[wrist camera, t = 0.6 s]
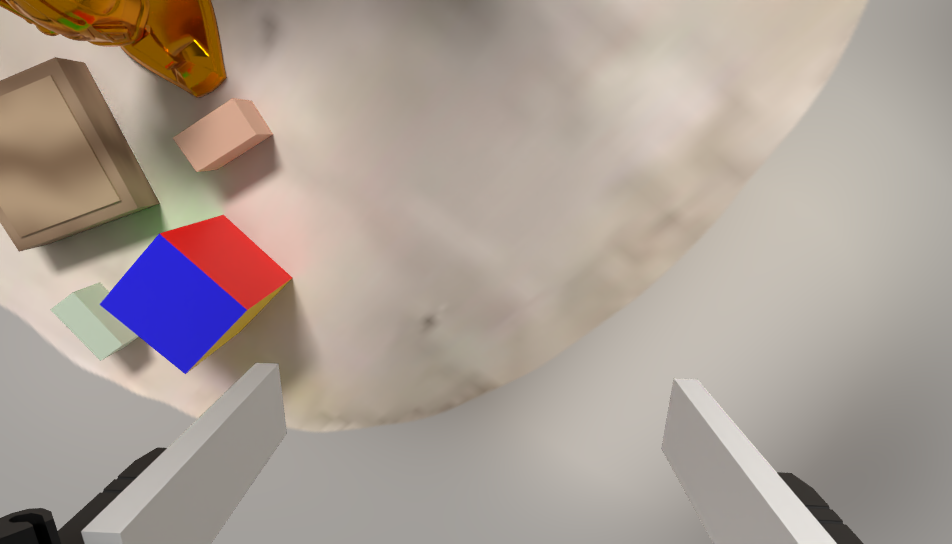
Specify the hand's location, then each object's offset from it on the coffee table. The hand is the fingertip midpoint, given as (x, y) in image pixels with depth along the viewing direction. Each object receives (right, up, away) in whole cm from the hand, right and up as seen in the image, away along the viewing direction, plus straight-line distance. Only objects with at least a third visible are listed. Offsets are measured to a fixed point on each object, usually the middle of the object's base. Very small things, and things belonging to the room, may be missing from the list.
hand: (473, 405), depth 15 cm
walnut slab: (-35, +14, +23) cm, 45 cm away
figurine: (-24, +24, +20) cm, 40 cm away
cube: (-22, +4, +26) cm, 35 cm away
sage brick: (-35, 0, +28) cm, 45 cm away
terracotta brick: (-20, +16, +23) cm, 34 cm away
